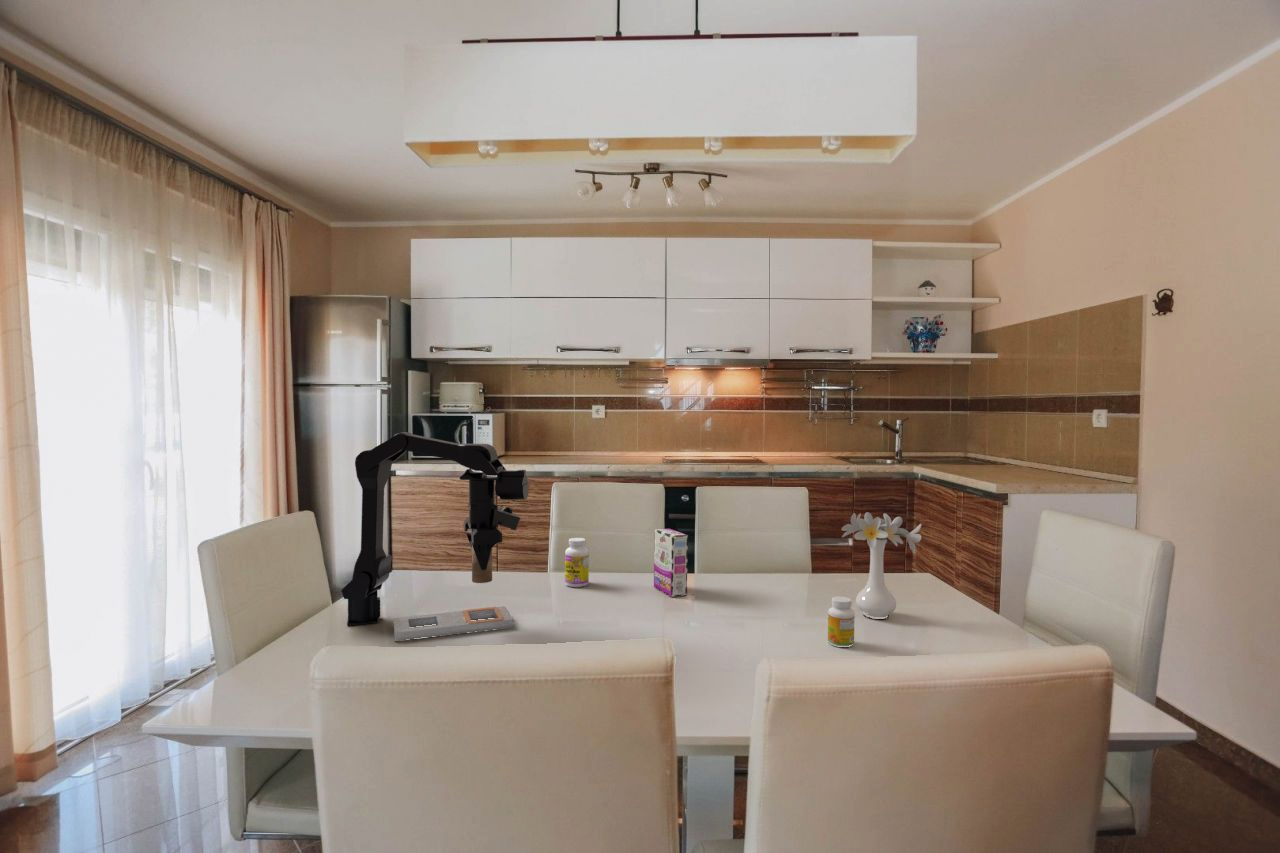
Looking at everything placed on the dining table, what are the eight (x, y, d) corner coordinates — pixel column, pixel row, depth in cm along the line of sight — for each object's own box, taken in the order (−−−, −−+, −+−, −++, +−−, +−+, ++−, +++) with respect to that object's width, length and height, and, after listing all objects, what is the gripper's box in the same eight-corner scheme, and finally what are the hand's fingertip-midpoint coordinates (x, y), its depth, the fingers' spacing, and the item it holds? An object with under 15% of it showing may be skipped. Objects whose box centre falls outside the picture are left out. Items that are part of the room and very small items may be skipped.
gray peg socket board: (394, 642, 136) (394, 631, 136) (393, 626, 146) (393, 617, 145) (513, 627, 146) (513, 618, 146) (505, 614, 155) (505, 605, 155)
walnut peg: (473, 583, 145) (473, 544, 144) (470, 578, 149) (470, 540, 149) (493, 582, 146) (493, 542, 146) (490, 577, 151) (490, 538, 150)
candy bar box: (688, 596, 172) (689, 534, 171) (671, 598, 170) (672, 536, 169) (668, 585, 182) (669, 527, 181) (652, 587, 180) (653, 528, 179)
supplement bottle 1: (560, 585, 180) (560, 540, 180) (573, 580, 186) (573, 536, 185) (580, 589, 177) (580, 542, 176) (593, 583, 183) (593, 538, 182)
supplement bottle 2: (823, 639, 141) (824, 595, 140) (848, 639, 141) (848, 595, 141) (833, 648, 135) (833, 602, 135) (858, 648, 136) (859, 602, 135)
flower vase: (927, 625, 151) (930, 518, 150) (848, 624, 151) (850, 517, 150) (904, 607, 164) (906, 509, 163) (831, 606, 164) (833, 508, 163)
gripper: (525, 503, 141) (525, 574, 142) (509, 492, 159) (509, 555, 159) (473, 506, 137) (473, 578, 138) (463, 494, 154) (463, 559, 155)
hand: (482, 567), depth 147 cm, fingers closed on walnut peg, 4 cm apart
